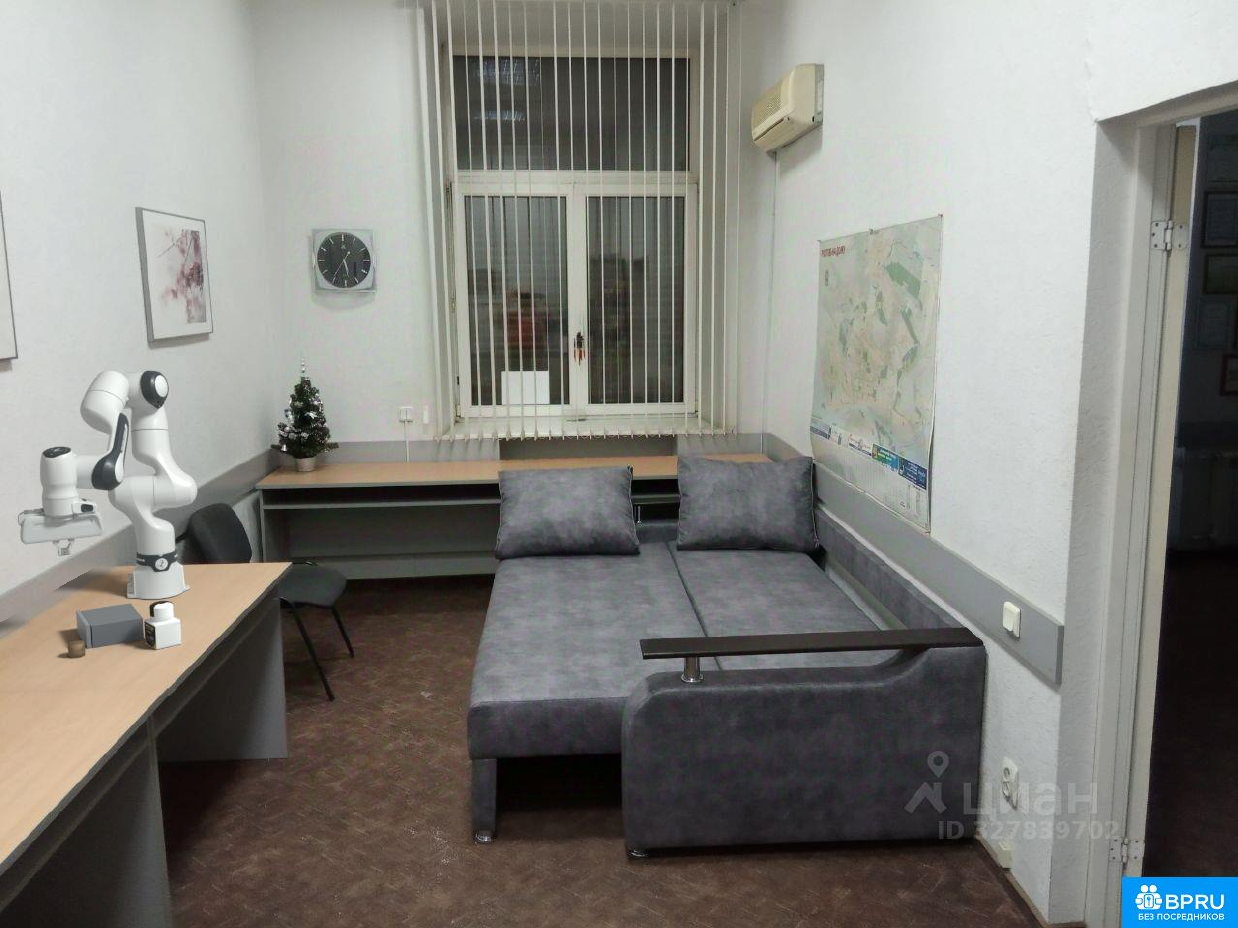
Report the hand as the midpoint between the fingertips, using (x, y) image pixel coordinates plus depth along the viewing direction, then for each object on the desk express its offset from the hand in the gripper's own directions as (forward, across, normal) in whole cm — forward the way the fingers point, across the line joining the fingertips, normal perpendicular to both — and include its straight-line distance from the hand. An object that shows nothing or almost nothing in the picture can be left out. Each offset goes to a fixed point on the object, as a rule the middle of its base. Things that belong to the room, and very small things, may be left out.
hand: (64, 554), depth 277 cm
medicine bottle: (+24, +20, -20) cm, 37 cm away
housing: (+24, +10, -5) cm, 26 cm away
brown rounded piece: (+24, -1, -17) cm, 29 cm away
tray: (+24, +9, -5) cm, 26 cm away
